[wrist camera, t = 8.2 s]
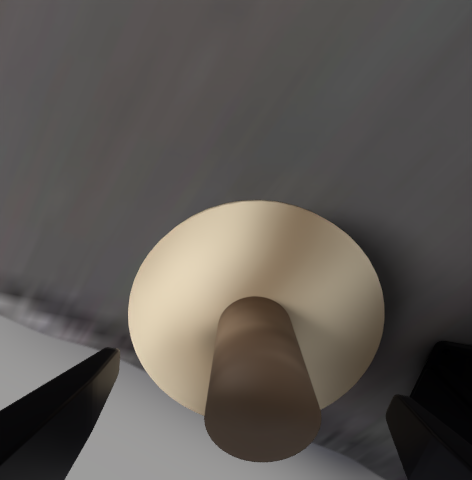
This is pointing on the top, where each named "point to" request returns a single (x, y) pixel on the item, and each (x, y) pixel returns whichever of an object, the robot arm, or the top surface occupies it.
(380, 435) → the top surface
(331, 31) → the top surface
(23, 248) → the top surface
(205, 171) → the top surface
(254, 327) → the lid
